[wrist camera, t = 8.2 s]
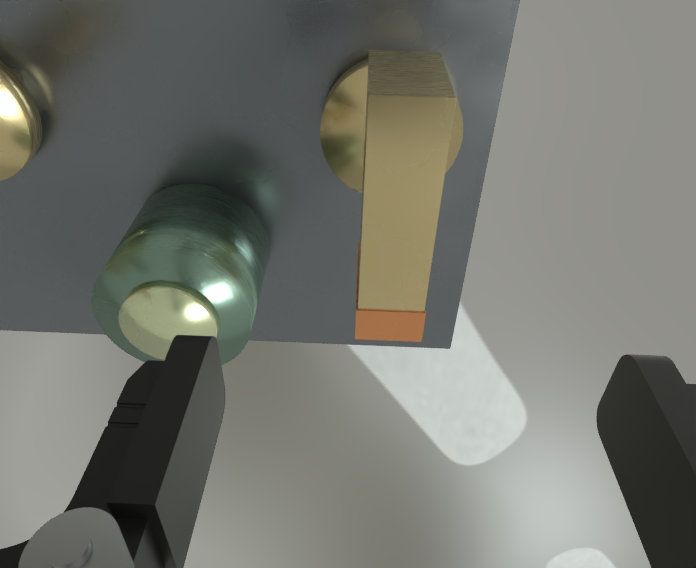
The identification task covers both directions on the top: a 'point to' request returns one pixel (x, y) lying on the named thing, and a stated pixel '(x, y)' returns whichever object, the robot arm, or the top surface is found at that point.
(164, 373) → the robot arm
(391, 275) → the knob
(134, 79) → the base plate
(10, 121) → the knob
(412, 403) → the top surface
